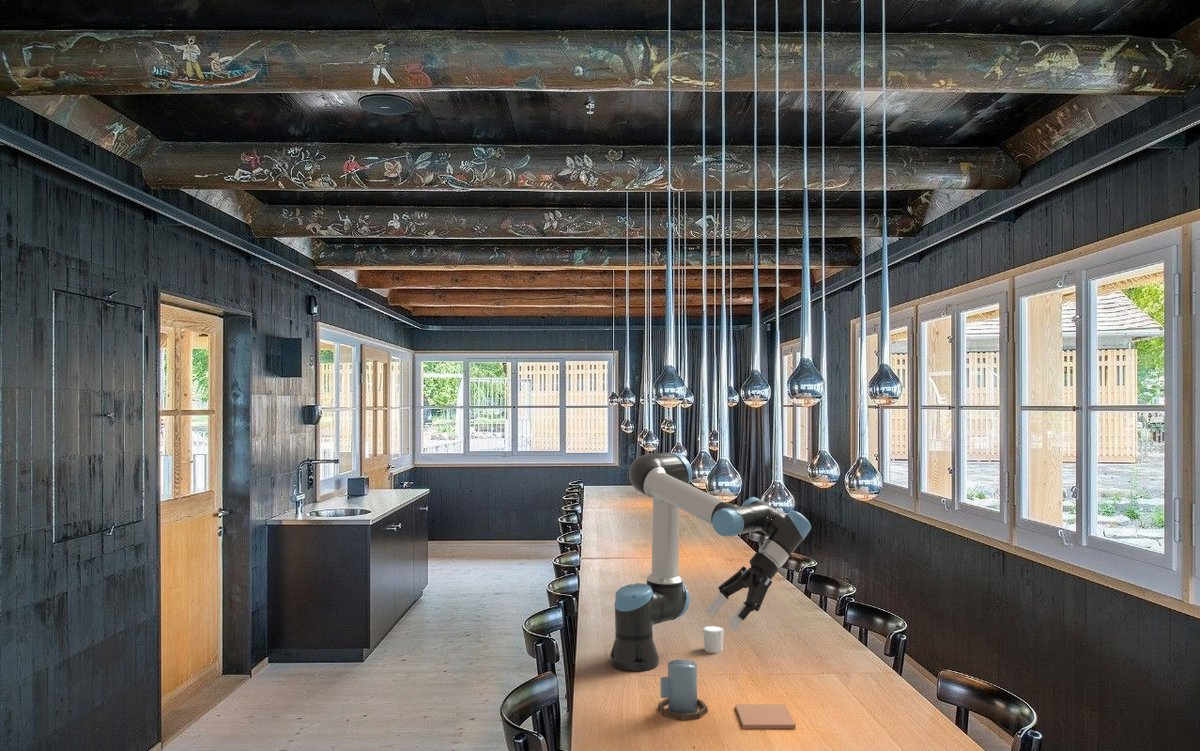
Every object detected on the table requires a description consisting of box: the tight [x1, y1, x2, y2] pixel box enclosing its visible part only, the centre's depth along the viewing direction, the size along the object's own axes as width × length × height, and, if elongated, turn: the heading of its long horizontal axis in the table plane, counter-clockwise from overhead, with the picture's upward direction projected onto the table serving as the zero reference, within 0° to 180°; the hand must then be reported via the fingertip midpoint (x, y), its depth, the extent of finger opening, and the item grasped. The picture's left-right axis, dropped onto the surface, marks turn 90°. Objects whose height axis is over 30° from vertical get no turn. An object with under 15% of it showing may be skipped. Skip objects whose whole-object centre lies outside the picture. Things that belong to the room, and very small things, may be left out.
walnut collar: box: [657, 698, 709, 721], centre depth 206 cm, size 12×12×1 cm
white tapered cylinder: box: [702, 625, 725, 654], centre depth 255 cm, size 7×7×7 cm
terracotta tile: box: [734, 703, 797, 730], centre depth 200 cm, size 13×13×1 cm
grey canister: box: [659, 659, 698, 714], centre depth 206 cm, size 10×8×12 cm
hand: (719, 620), depth 209 cm, fingers open, 13 cm apart
